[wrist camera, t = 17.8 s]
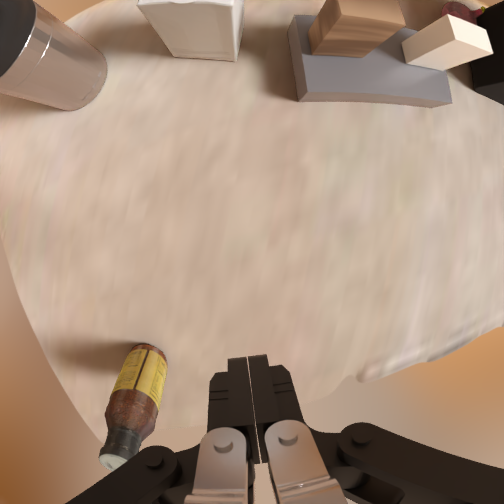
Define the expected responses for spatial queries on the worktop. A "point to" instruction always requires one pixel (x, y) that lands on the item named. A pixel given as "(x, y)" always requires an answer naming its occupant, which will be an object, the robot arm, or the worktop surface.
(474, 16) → the vegetable
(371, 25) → the walnut key
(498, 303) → the worktop surface
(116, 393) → the sauce bottle
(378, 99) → the keypad base
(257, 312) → the worktop surface
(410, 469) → the robot arm
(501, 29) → the air purifier
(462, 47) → the wooden block
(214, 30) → the skincare box
